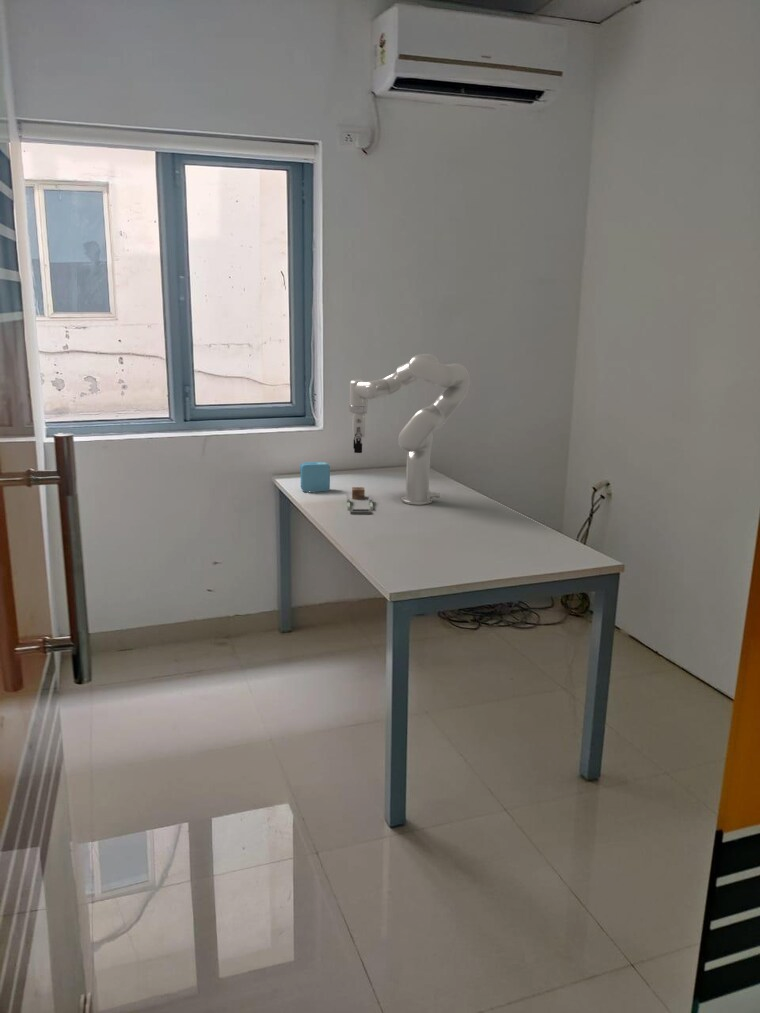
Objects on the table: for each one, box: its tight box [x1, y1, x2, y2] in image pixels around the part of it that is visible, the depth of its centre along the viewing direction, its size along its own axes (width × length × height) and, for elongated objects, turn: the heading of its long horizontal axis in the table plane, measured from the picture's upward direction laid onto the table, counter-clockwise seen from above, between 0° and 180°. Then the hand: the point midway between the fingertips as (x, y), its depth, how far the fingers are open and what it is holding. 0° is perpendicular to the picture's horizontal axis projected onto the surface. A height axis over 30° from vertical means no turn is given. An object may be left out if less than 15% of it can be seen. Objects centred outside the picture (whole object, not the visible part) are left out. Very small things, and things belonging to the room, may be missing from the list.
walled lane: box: [346, 494, 373, 506], centre depth 316 cm, size 10×7×2 cm
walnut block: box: [351, 486, 366, 500], centre depth 325 cm, size 5×5×4 cm
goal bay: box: [346, 502, 374, 511], centre depth 309 cm, size 10×6×2 cm, turn 94°
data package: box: [300, 461, 331, 493], centre depth 334 cm, size 12×4×12 cm, turn 104°
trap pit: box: [349, 508, 372, 515], centre depth 302 cm, size 8×4×1 cm, turn 94°
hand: (357, 450), depth 329 cm, fingers open, 8 cm apart
